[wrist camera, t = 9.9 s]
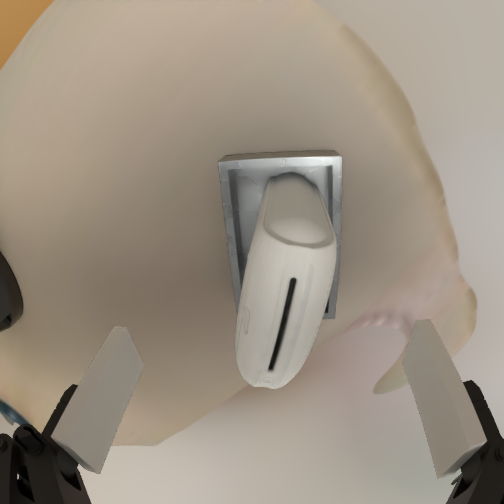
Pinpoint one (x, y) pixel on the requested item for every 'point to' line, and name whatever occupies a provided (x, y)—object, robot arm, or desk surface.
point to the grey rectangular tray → (251, 193)
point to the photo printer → (284, 282)
